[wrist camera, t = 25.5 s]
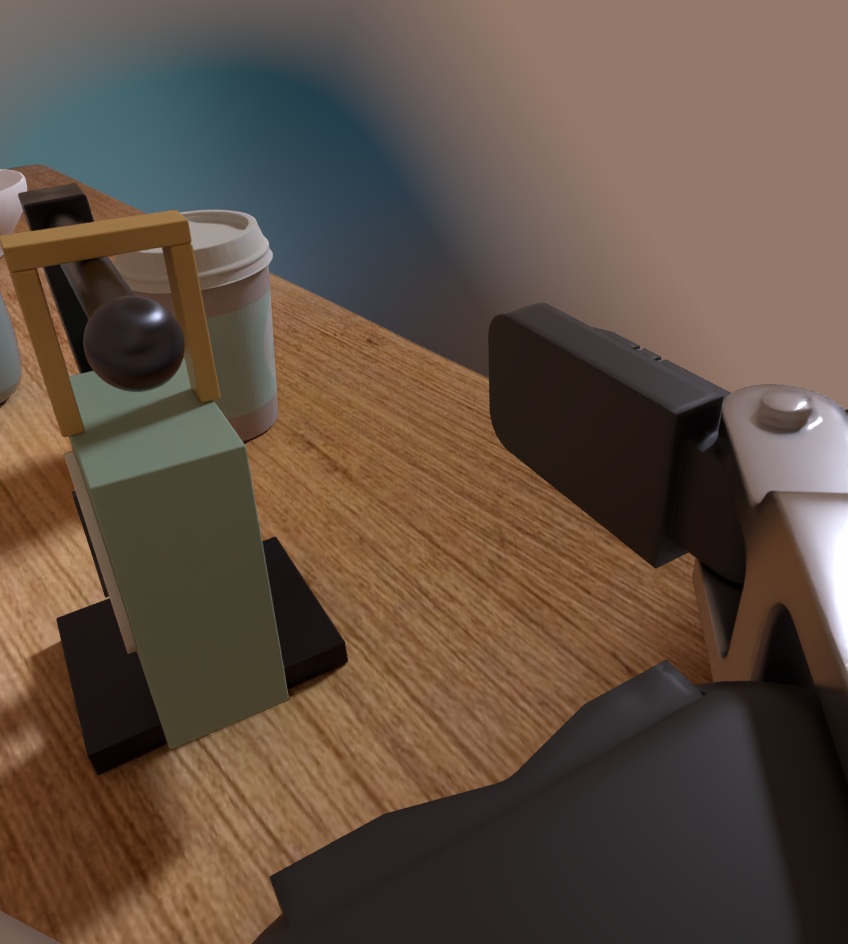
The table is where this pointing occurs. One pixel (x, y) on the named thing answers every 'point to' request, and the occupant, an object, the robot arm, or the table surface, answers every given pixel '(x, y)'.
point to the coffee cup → (225, 310)
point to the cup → (8, 355)
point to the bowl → (10, 201)
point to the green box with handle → (163, 493)
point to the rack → (95, 627)
